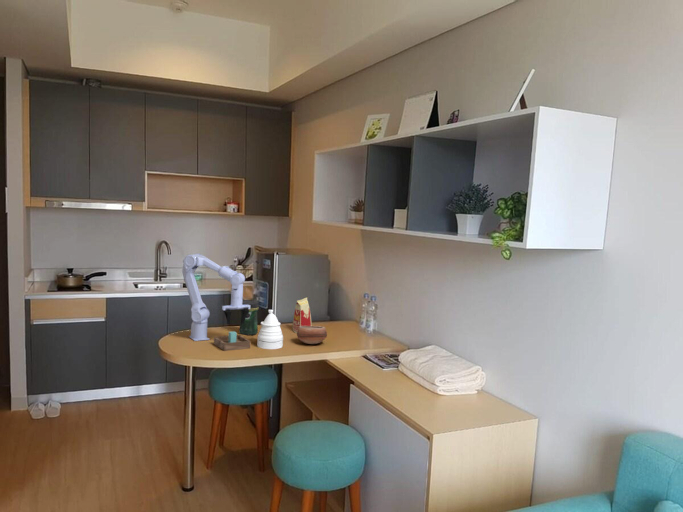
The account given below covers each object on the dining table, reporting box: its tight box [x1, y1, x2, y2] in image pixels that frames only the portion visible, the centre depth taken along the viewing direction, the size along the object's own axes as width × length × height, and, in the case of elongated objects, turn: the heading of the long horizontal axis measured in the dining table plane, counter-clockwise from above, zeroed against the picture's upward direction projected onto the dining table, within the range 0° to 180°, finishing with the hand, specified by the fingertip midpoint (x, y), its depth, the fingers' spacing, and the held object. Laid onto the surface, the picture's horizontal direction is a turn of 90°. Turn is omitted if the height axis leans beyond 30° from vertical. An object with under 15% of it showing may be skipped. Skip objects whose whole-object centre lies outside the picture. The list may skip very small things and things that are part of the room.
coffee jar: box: [238, 299, 260, 336], centre depth 289 cm, size 10×8×19 cm
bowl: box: [296, 325, 328, 345], centre depth 276 cm, size 16×16×10 cm
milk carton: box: [292, 297, 312, 334], centre depth 301 cm, size 9×9×20 cm
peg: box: [227, 331, 238, 343], centre depth 262 cm, size 3×3×7 cm
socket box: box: [213, 334, 251, 352], centre depth 262 cm, size 14×14×4 cm
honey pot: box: [256, 309, 284, 350], centre depth 267 cm, size 13×13×18 cm
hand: (235, 323), depth 269 cm, fingers open, 7 cm apart
